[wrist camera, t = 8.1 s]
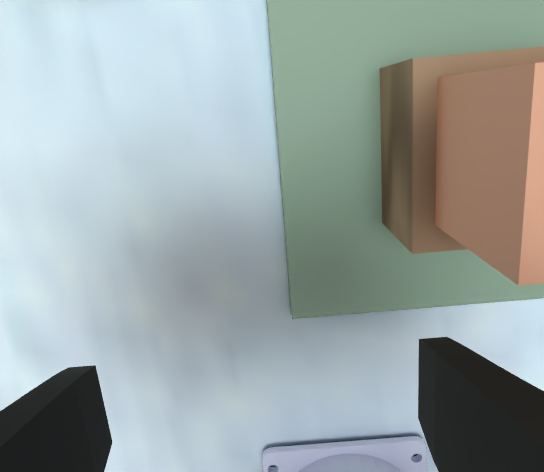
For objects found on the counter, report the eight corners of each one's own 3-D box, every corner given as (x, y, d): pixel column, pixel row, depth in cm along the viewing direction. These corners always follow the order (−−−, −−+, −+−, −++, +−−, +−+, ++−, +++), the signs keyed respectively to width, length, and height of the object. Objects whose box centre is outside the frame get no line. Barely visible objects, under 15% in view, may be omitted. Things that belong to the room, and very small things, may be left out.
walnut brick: (528, 210, 19) (596, 238, 15) (382, 222, 19) (412, 254, 15) (540, 54, 17) (621, 39, 13) (379, 68, 17) (412, 58, 13)
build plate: (603, 287, 20) (613, 292, 20) (291, 312, 20) (292, 318, 20) (651, -74, 16) (666, -80, 16) (263, -38, 16) (263, -43, 16)
